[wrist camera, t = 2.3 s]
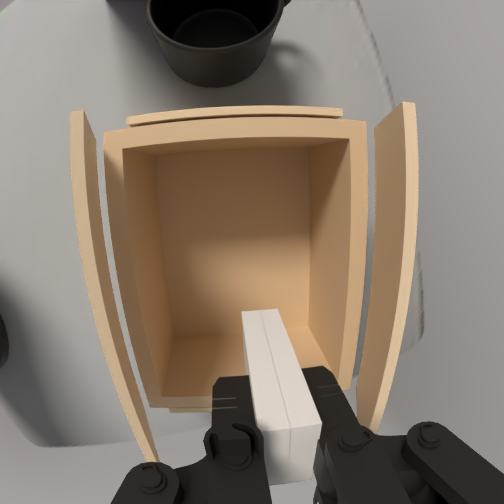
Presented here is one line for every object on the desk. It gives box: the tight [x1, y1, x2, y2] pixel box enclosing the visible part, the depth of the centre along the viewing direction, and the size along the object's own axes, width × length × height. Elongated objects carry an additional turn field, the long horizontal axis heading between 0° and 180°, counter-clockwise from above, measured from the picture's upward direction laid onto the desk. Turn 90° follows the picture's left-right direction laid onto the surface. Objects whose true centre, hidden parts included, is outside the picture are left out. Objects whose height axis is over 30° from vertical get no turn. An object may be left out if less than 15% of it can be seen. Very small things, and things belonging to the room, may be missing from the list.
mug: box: [146, 0, 291, 87], centre depth 19 cm, size 9×12×9 cm
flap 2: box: [356, 102, 418, 434], centre depth 15 cm, size 8×19×1 cm
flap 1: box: [70, 110, 160, 462], centre depth 14 cm, size 8×19×1 cm
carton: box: [103, 105, 368, 413], centre depth 24 cm, size 16×22×10 cm
